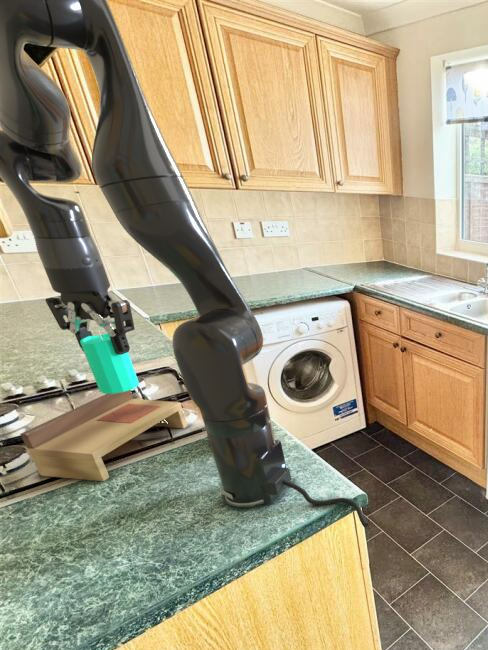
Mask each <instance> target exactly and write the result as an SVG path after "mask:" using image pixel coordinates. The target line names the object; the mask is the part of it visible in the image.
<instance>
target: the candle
mask: <svg viewBox="0 0 488 650" xmlns="http://www.w3.org/2000/svg"><path fill="white" fill-rule="evenodd" d="M97 332H98V334H99V335H93V336H87V337H85V338H83V339H81V341H80V343H81V346H82V348H83V351H84V352H83V351H82V352H83V353H84V355H85V357H86V361H87V363H88V365H89V369H90V370H91V373H92V376H93V378H94V380H95V383H96V386H97V388H98V390H99V393H102V394H104V395H105V394H114V393H121V392H125V391H128V390H130V391H132V390H134V389H136V388H137V387H139V384H140V382H139V379H138V376H137V373H136V371H135V368H134V365H133V362H132V359H131V356H130V354H129V352H127V353H125V354H122V355H119V354H116V353H115V350H114V348H113V345H112V342H111V339H110V335H109V334H108V333H103V334H101V332H100V329H98V330H97Z"/></svg>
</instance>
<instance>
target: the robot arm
mask: <svg viewBox="0 0 488 650" xmlns="http://www.w3.org/2000/svg"><path fill="white" fill-rule="evenodd" d="M26 44H31V45H36V46H42V47H51V48H59V49H70V50H77V51H82V52H83V53H84V55H85V56H86V57H87V60H88V62H89V63H90V66H91V69H92V71H93V74H94V77H95V80H96V83H97V86H98V87H97V88H98V92H99V112H98V120H97V123H96V124H97V125H96V128H95V129H96V130H95V135H94V140H93V145H92V153H91V167H92V174H93V177H94V179H95V181H96V183H97V185H98V188H99V189H100V191H101V192H102V194H103V196H104V198H105V199H106V201H107V203H108V205H109V207H110V209H111V210H112V212H113V214H114V216H115V218H116V219H117V221H118V222H119V223H120V225H121V226H122V228H123V229H124V230H125V232H126V233H127V234H128V236H130V237H131V238H132V239H133V240H134V241H135V242H136V243H137V244H138V245H139V246H141V247H142V248H143V250H144V251H146V252H147V253H148V254H150V255H151V256H152V258H154V259H156V260H157V261H158V262H160V263H161V264H162V265H163V266H164V267H165V268H166V269H167V270H168V271H170V272H171V273H172V274H173V276H175V278H176V279H178V281H179V282H180V284H181V285H182V286H183V288H184V289H185V291H186V292H187V294H188V296H189V298H190V299H191V301H192V303H193V306H194V307H195V309H196V312H197V314H198V315H197V316H196V317H192V318H190V319H188V320H186V321H184V322H182V323H181V324H179V325H178V326H177V327H176V328H175V330H174V331H173V335H172V343H171V344H172V351H173V355H174V358H175V361H176V364H177V367H178V370H179V372H180V375H181V378H182V380H183V383H184V385H185V388H186V391H187V393H188V396H189V397H190V399H191V400H192V402H193V403H194V404H195V405H196V407H198V409H199V411H200V414H201V418H202V423H203V425H204V428H205V432H206V435H207V438H208V442H209V446H210V449H211V452H212V456H213V459H214V463H215V466H216V469H217V474H218V476H219V479H220V483H221V486H222V488H220V491H221V494H223V496H224V499H225V502H226V503H227V504H228V505H229V506H231V507H233V508H237V509H247V508H248V509H249V508H254V507H258V506H261V505H271V504H272V503H274V502H275V500H276V499H277V498H278V497H279V495H281V494H282V493H283V491H284V490H285V489H286V488H287V487H289V488H291V489H293V490H295V491H296V492H298V493H300V494H301V496H303V498H304V499H305V501H306V502H307V503H309V504H311V505H315V506H327V505H334V504H338V503H343V504H344V503H345V504H347V505H350V506H352V507H353V509H355V511H356V515H357V517H358V520H359V521H360V523H361V525H362V527H363V528H367V527H368V526H369V524H368V521H367V520H366V517H365V515H364V513H363V511H362V508H361V507H360V505H359V504H358V503H357V502H356V501H354V500H353V499H350V498H347V497H338V498H337V497H336V498H332V499H326V500H325V499H324V500H317V499H313V498H312V497H311V496H310V495H309V493H308V492H307V491H306V489H304V488H303V487H301V486H299V484H296V483H294V482H292V474H291V470H290V468H289V467H287V465H286V464H287V463H286V460H285V454H284V450H283V444H282V441H281V440H280V439H276V437H275V433H274V429H273V425H272V420H271V414H270V410H269V406H268V399H267V395H266V392H265V389H264V388H263V386H261V385H259V384H257V383H254V382H247V379H246V376H245V372H244V369H243V366H244V365H246V364H247V363H249V362H250V361H252V360H253V359H255V358H256V357H257V356H258V355H259V354H260V353H261V351H262V349H263V347H264V335H263V331H262V329H261V326H260V324H259V322H258V319H257V318H256V317H255V315H254V312H253V311H252V309H251V308H250V306H249V305H248V303H247V301H246V300H245V298H244V296H243V295H242V292H241V291H240V290H239V288H238V287H237V285H236V283H235V281H234V280H233V277H232V276H231V274H230V272H229V270H228V268H227V266H226V265H225V262H224V261H223V259H222V257H221V254H220V252H219V250H218V248H217V246H216V244H215V242H214V240H213V237H212V236H211V234H210V232H209V230H208V228H207V225H206V224H205V222H204V220H203V219H204V218H203V217H202V215H201V213H200V210H199V207H198V205H197V203H196V201H195V199H194V197H193V194H192V192H191V190H190V188H189V186H188V184H187V182H186V180H185V178H184V176H183V173H182V172H181V170H180V167H179V165H178V164H177V161H176V159H175V157H174V156H173V154H172V151H171V150H170V148H169V146H168V144H167V142H166V140H165V137H164V135H163V133H162V131H161V129H160V128H159V124H158V123H157V120H156V118H155V116H154V114H153V112H152V109H151V107H150V105H149V102H148V100H147V97H146V95H145V93H144V90H143V88H142V85H141V83H140V80H139V78H138V75H137V72H136V71H135V67H134V65H133V62H132V60H131V57H130V55H129V52H128V49H127V47H126V45H125V42H124V39H123V37H122V33H121V31H120V29H119V26H118V24H117V22H116V18H115V17H114V14H113V12H112V9H111V7H110V5H109V2H108V0H0V128H1V129H0V179H1V180H2V181H3V183H4V184H5V185H6V186H7V189H9V191H10V192H11V194H12V195H13V197H14V198H15V199H16V201H17V203H18V204H19V206H20V208H21V211H22V212H23V214H24V217H25V218H26V221H27V223H28V226H29V228H30V231H31V234H32V236H33V239H34V242H35V245H36V246H35V247H36V251H37V254H38V257H39V259H40V261H41V263H42V266H43V269H44V272H45V274H46V277H47V279H48V281H49V283H50V286H51V288H52V290H53V292H55V293H58V294H60V295H55V296H50V297H46V298H45V303H46V305H47V307H48V309H49V310H50V312H51V314H52V316H53V318H54V319H55V321H56V323H57V325H58V326H59V328H60V329H61V330H63V331H66V330H68V331H70V333H71V334H74V336H75V338H76V341H77V343H78V346H79V347H80V349H81V350H82V351H81V352H83V353H84V351H83V348H82V346H81V343H80V341H81V339H83V338H85V337H87V336H94V335H93V333H92V330H89V329H90V322H91V321H94V322H95V324H97V325H98V326H99V327H102V328H103V329H104V330H105V331H106V333H107V334H109V335H110V339H111V342H112V345H113V348H114V350H115V353H116V354H119V355H122V354H125V353H127V352H128V353H129V352H130V348H131V347H130V344H129V341H128V338H127V333H129V332H132V331H135V328H136V327H135V324H134V318H133V313H132V308H131V304H130V301H129V300H127V299H124V300H115V299H113V297H112V296H111V295H110V294H109V288H110V287H111V283H110V280H109V278H108V274H107V271H106V269H105V266H104V263H103V260H102V257H101V254H100V251H99V249H98V247H97V245H96V243H95V241H94V239H93V237H92V234H91V231H90V228H89V225H88V222H87V220H86V216H85V213H84V212H83V211H84V210H83V208H82V207H81V205H80V204H79V203H78V202H76V201H74V200H72V199H67V198H63V197H56V196H51V195H46V194H42V193H40V192H39V191H38V190H37V189H35V188H34V187H33V185H31V182H35V183H56V184H58V183H59V184H68V183H73V182H76V181H77V180H79V179H80V177H81V176H82V174H83V168H82V164H81V161H80V159H79V156H78V155H77V153H76V151H75V149H74V147H73V145H72V143H71V139H70V130H71V119H72V118H71V117H72V116H71V115H72V114H71V108H70V104H69V101H68V99H67V97H66V95H65V93H64V92H63V90H62V89H61V88H60V86H59V85H58V84H57V82H55V80H54V79H53V78H52V77H51V76H50V75H49V74H48V73H47V72H46V71H44V70H43V68H41V66H40V65H38V64H37V63H36V62H35V61H34V60H33V59H32V58H31V57H30V55H29V54H28V53H27V52H26V51H25V50H24V48H25V45H26ZM64 317H66V319H67V321H66V319H65V318H64ZM108 317H109V318H108ZM111 324H112V325H113V326H114V327H115V328H114V327H113V326H112V325H111Z"/></svg>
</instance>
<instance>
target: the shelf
mask: <svg viewBox="0 0 488 650" xmlns="http://www.w3.org/2000/svg"><path fill="white" fill-rule="evenodd" d="M164 419H165V420H166V421H167V422H168V424H167V423H166V424H165V423H159V422H160V421H162V420H164ZM152 427H160V428H161V427H162V428H173V429H185V428H187V427H188V423H187V420H186V416H185V412H184V410H183V407H182V403H181V402H179V401H165V400H156V399H155V400H154V399H142V398H141V399H140V398H134V397H133V394H132V392H131V390H128V391H125V392H121V393H114V394H104V395H101V396H99V397H97V398H95V399H92V400H90V401H88V402H85V403H84V404H82V405H80V406H78V407H74V408H73V409H71V410H69V411H66V412H64V413H62V414H60V415H58V416H56V417H53V418H51V419H50V420H47V421H45V422H43V423H41V424H39V425H37V426H34V427H32V428H30V429H27V430H25V431H24V432H21V433H20V437H21V439H22V441H23V443H24V445H25V447H26V449H27V451H28V453H29V454H30V456H31V458H32V460H33V462H34V464H35V466H36V469H37V470H38V473H39V474H40V476H42V477H51V478H52V477H53V478H62V479H64V478H65V479H73V480H74V479H76V480H87V481H95V482H96V481H97V482H105V481H106V480H108V479H109V478H110V474H109V472H108V470H107V467H106V466H105V462H104V461H103V458H102V457H105V456H106V455H107V454H109V453H111V452H112V451H114V450H115V449H117V448H119V447H120V446H122V445H125V444H126V443H127V442H129V441H131V440H132V439H134V438H136V437H137V436H138V435H140V434H142V433H144V432H145V431H147V430H149V429H150V428H152Z"/></svg>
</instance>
